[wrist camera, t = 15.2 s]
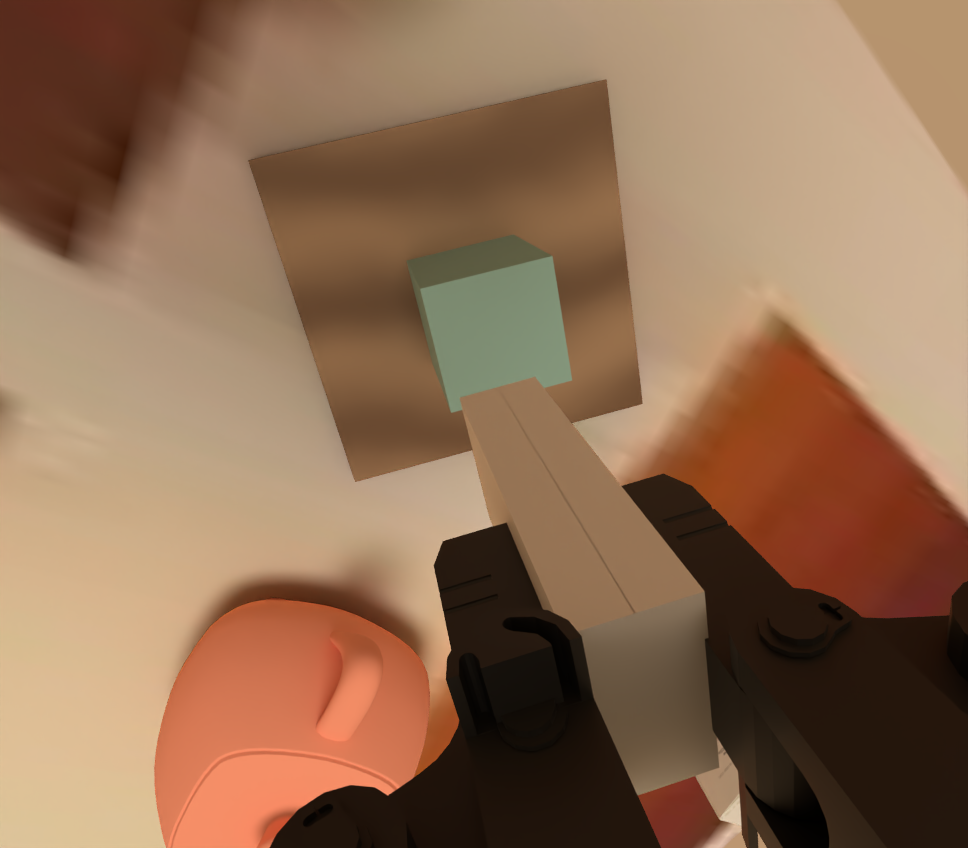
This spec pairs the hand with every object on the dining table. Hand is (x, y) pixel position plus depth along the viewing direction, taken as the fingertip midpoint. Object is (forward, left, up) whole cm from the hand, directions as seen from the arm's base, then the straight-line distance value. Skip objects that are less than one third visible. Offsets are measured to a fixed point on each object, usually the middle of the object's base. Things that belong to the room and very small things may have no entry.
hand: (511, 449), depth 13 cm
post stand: (+2, +2, -21) cm, 21 cm away
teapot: (+22, -13, -21) cm, 33 cm away
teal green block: (+2, +2, -20) cm, 20 cm away
